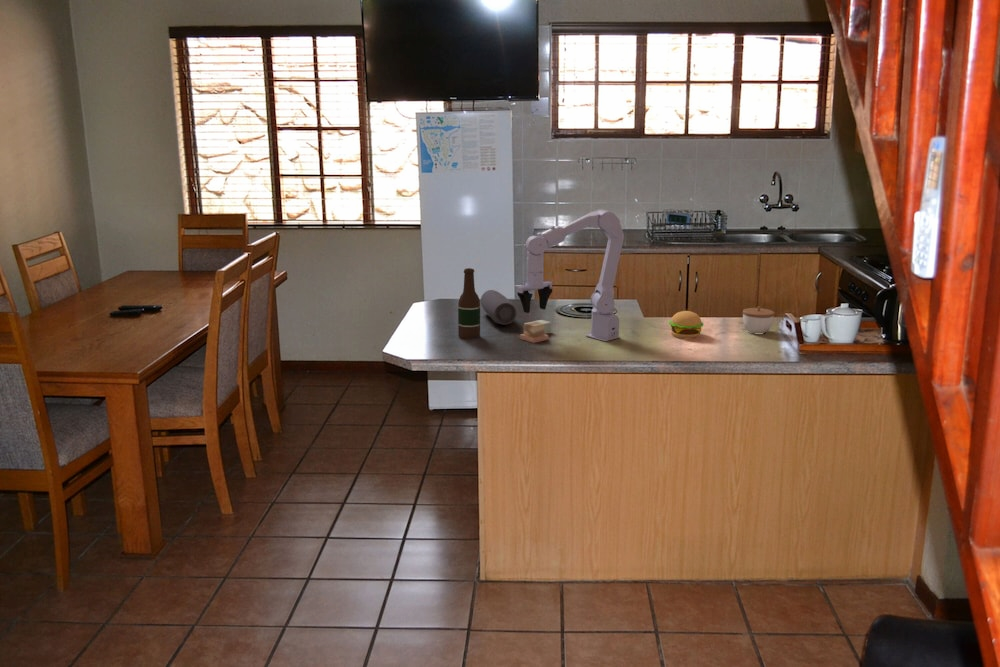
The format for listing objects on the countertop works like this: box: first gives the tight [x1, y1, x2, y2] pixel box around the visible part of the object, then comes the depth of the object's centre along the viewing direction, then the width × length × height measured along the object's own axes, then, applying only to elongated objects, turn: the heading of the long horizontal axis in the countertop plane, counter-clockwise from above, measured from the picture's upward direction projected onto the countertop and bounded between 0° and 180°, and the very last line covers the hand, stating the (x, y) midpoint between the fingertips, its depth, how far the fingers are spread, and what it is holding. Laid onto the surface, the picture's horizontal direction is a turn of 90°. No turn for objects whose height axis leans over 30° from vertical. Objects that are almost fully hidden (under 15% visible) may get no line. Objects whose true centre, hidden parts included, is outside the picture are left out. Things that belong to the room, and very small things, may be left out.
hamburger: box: [668, 310, 704, 339], centre depth 313 cm, size 12×12×9 cm
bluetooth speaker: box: [480, 289, 517, 326], centre depth 333 cm, size 23×9×10 cm, turn 14°
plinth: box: [519, 333, 549, 344], centre depth 308 cm, size 7×7×2 cm
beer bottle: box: [457, 267, 481, 340], centre depth 308 cm, size 8×8×24 cm
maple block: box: [523, 320, 544, 337], centre depth 308 cm, size 5×5×4 cm
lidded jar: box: [742, 306, 775, 334], centre depth 318 cm, size 11×11×9 cm
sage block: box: [535, 319, 552, 335], centre depth 317 cm, size 5×5×4 cm
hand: (534, 310), depth 306 cm, fingers open, 7 cm apart
